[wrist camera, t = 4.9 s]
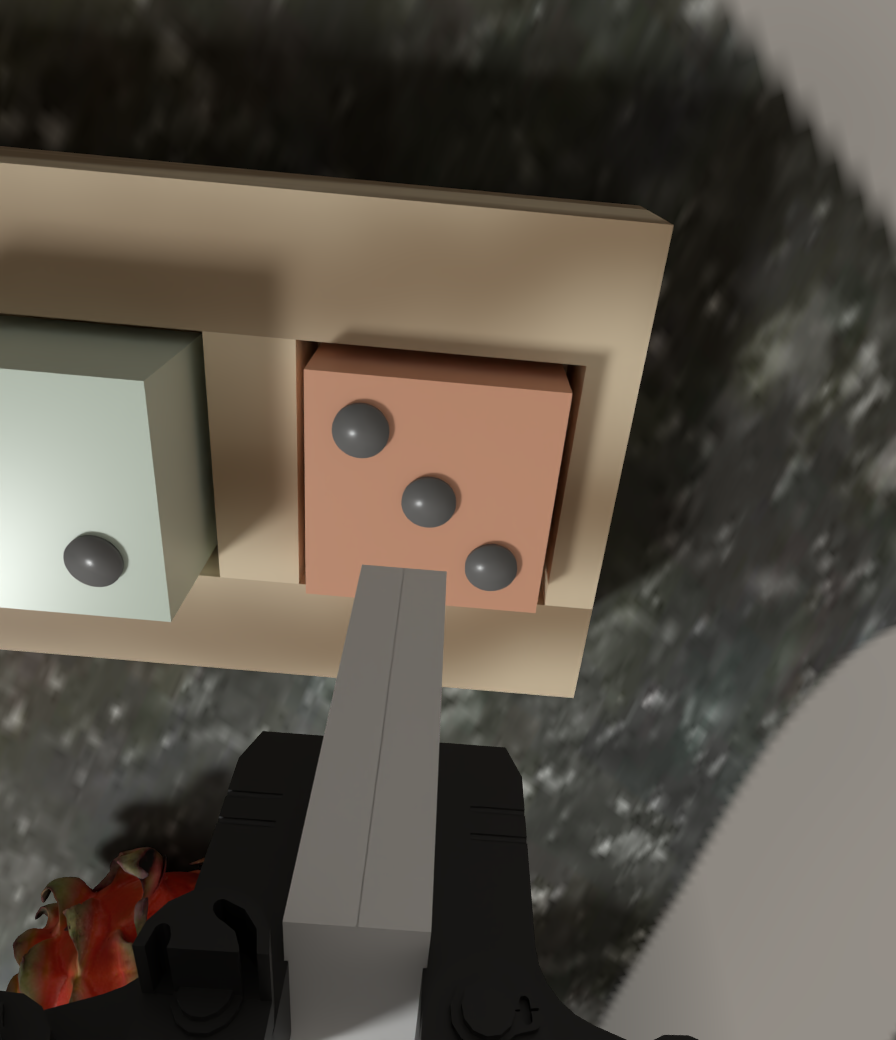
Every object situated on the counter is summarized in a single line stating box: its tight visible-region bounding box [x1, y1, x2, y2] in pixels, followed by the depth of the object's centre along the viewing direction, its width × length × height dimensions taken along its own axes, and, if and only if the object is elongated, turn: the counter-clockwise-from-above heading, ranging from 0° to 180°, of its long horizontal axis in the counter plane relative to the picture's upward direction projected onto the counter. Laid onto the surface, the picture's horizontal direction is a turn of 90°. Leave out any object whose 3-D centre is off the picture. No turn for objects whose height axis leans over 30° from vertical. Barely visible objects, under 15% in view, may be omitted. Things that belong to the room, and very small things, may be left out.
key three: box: [304, 342, 573, 613], centre depth 21 cm, size 6×6×4 cm
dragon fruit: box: [6, 847, 205, 1010], centre depth 32 cm, size 8×8×12 cm
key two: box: [0, 315, 218, 622], centre depth 19 cm, size 6×6×4 cm
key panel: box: [0, 146, 674, 698], centre depth 22 cm, size 14×29×4 cm, turn 85°
